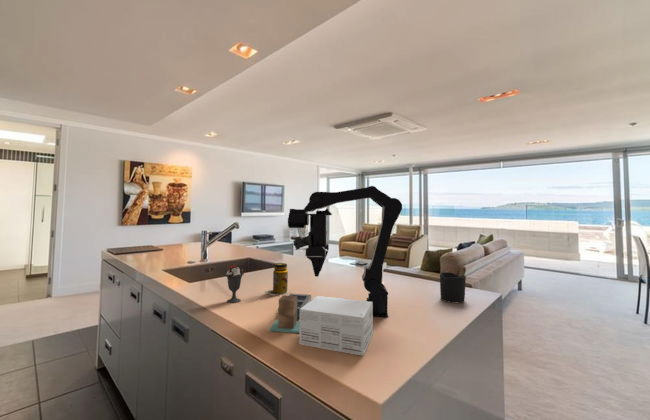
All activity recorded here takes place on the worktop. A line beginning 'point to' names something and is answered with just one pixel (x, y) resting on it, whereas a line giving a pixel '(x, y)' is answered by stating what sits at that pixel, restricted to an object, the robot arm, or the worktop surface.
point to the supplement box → (336, 324)
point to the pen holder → (452, 287)
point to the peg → (287, 312)
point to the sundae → (234, 281)
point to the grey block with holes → (300, 302)
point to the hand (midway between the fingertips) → (318, 273)
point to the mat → (275, 328)
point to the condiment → (279, 280)
